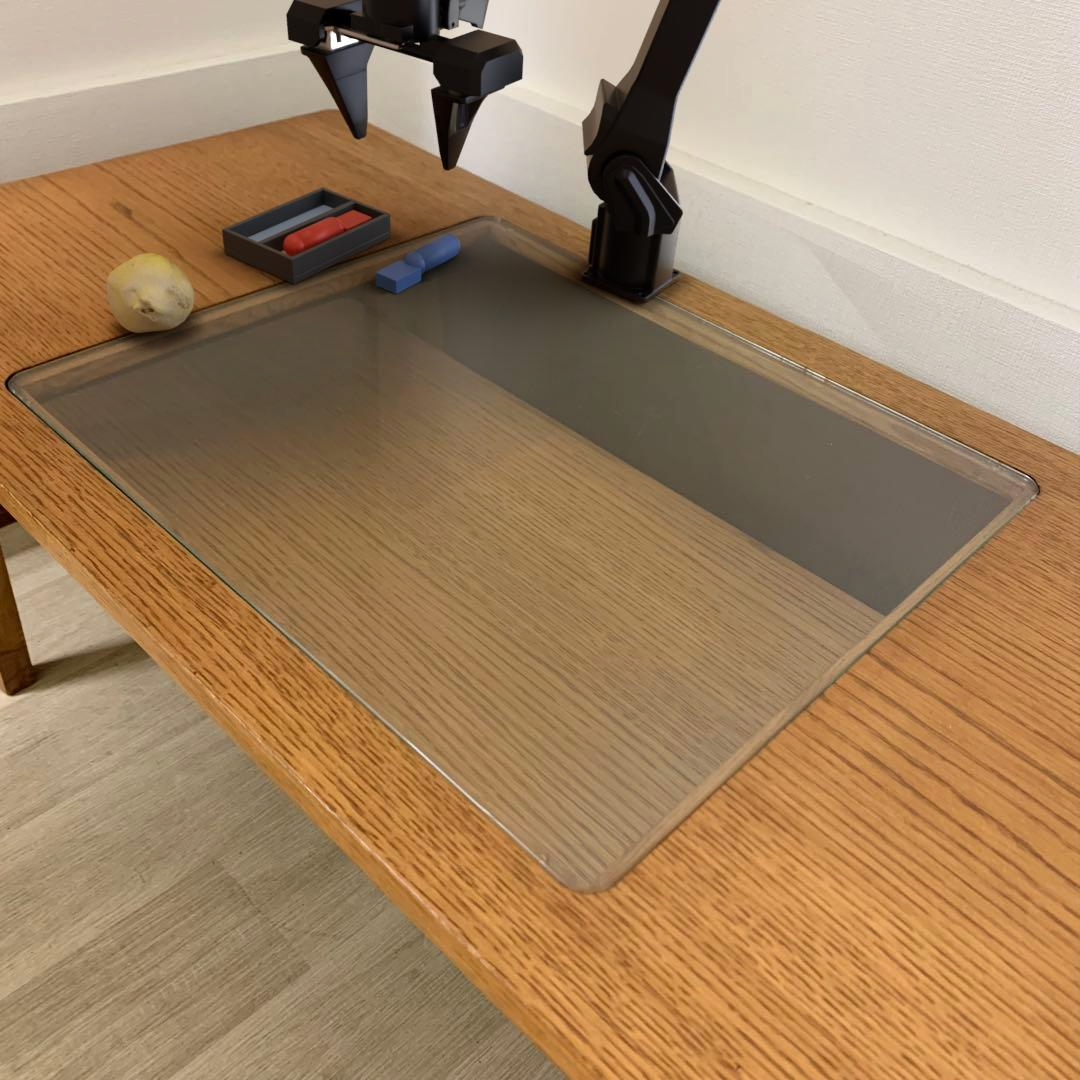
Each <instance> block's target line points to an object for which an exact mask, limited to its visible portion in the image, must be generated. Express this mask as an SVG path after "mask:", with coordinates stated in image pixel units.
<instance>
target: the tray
mask: <svg viewBox="0 0 1080 1080" xmlns="http://www.w3.org/2000/svg"><path fill="white" fill-rule="evenodd" d="M352 210H355V211H357V212H360V213H362V214H365V215H367V216H370V217H372V220H370V221H368V222H366V223H364V224H362V225H359V226H357V227H355V228H353V229H351V230H349V231H347V232H344V233H342V234H340V235H338V236H336V237H334V238H331V239H329V240H327V241H325V242H323V243H321V244H319V245H316V246H314V247H312V248H310V249H308V250H306V251H304V252H301V253H299V254H297V255H295V256H293V257H291V256H289V255H287V254H286V253H285V251H284V247H283V244H284V240H285V238H286V237H287V236H289V235H290V234H293V233H295V232H297V231H299V230H302V229H304V228H306V227H308V226H310V225H313V224H315V223H317V222H319V221H322V220H324V219H326V218H329V217H335V218H336V217H338V216H341V215H343V214H345V213H347V212H350V211H352ZM391 224H392V223H391V213H389V212H387V211H385V210H382V209H379V208H377V207H374V206H372V205H369V204H367V203H364V202H361V201H359V200H357V199H354V198H351V197H348V196H346V195H344V194H341V193H338V192H336V191H334V190H331V189H329V188H326V187H319V188H317V189H314V190H313V191H310V192H307V193H305V194H303V195H300V196H298V197H296V198H292V199H291V200H289V201H286V202H283V203H282V204H281V203H280V204H279V205H277V206H274V207H271V208H269V209H267V210H265V211H262V212H260V213H258V214H255V215H253V216H250V217H248V218H246V219H243V220H241V221H238V222H235V223H233V224H231V225H229V226H226V227H224V228H222V229H221V233H222V242H223V243H222V244H223V251H224V254H225V255H227V256H229V257H232V258H233V259H235V260H239V261H241V262H243V263H245V264H247V265H249V266H252V267H254V268H256V269H259V270H261V271H263V272H265V273H268V274H269V275H272V276H274V277H277V278H278V279H281V280H282V281H285V282H287V283H290V284H292V285H296V284H298V283H300V282H302V281H303V280H306V279H308V278H310V277H312V276H314V275H316V274H318V273H321V272H322V271H325V270H326V269H328V268H330V267H333V266H334V265H336V264H339V263H340V262H343V261H345V260H347V259H349V258H351V257H353V256H355V255H357V254H359V253H361V252H363V251H366V250H367V249H370V248H371V247H374V246H375V245H378V244H379V243H382V242H383V241H386V240H388V239H390V238H391V237H392V236H391V235H392V234H391V229H392V228H391V227H392V226H391Z"/></svg>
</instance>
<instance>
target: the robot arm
mask: <svg viewBox="0 0 1080 1080" xmlns="http://www.w3.org/2000/svg"><path fill="white" fill-rule="evenodd" d="M721 2H722V0H659V2H658V3H657V6H656V8H655V11H654V13H653V16H652V18H651V21H650V23H649V24H648V28H647V30H646V32H645V35H644V38H643V40H642V43H641V45H640V48H639V49H638V52H637V54H636V56H635V59H634V62H633V64H632V66H631V67H630V68H629V70H628V71H627V72H626V74H625V75H624V76H623V77H622V79H621V80H620V81H619V82H618V83H617V85H614V84H613V83H611V82H609V81H608V80H606V79H605V78H600V80H599V84H598V87H597V90H596V91H597V92H596V96H595V101H594V103H593V106H592V108H591V110H590V112H589V113H588V114H587V116H586V117H585V118H584V119H583V120H582V122H581V130H582V144H583V155H584V156H585V157H586V158H585V160H586V173H587V181H588V183H589V186H590V188H591V190H592V192H593V194H594V195H596V197H598V199H599V200H600V201H601V203H599V204H598V205H597V214H596V217H595V218H593V219H592V220H591V227H590V236H589V246H588V254H587V264H588V265H589V267H588V268H586V269H584V270H582V271H581V272H580V280H582V281H584V282H587V283H590V284H592V285H594V286H597V287H599V288H602V289H604V290H607V291H610V292H612V293H615V294H618V295H620V296H622V297H626V298H628V299H630V300H633V301H635V302H638V303H647V302H649V301H650V300H651V299H653V298H654V297H656V296H657V295H658V294H660V293H661V292H662V291H664V290H665V289H667V288H668V287H670V286H671V285H673V284H674V283H676V282H677V281H678V280H680V278H681V271H679V270H677V269H674V266H675V260H676V259H675V258H676V252H677V246H678V240H679V234H680V229H681V228H680V227H681V223H682V217H683V214H684V211H683V206H682V203H681V197H680V194H679V189H678V184H677V179H676V175H675V169H674V168H673V167H672V166H671V164H670V163H669V162H668V161H667V155H668V152H669V147H670V143H671V138H672V132H673V127H674V122H675V116H676V111H677V110H676V109H677V105H678V101H679V96H680V94H681V92H682V90H683V88H684V85H685V82H686V81H687V78H688V76H689V74H690V72H691V70H692V67H693V65H694V63H695V61H696V58H697V56H698V55H699V52H700V50H701V47H702V45H703V43H704V41H705V39H706V36H707V34H708V31H709V29H710V28H711V25H712V23H713V21H714V18H715V16H716V14H717V11H718V10H719V7H720V5H721ZM489 3H490V0H292V2H291V4H290V6H289V8H288V10H287V12H286V14H285V16H286V29H287V30H286V31H287V40H288V41H291V42H294V43H297V44H300V45H301V46H299V51H300V54H301V55H302V56H305V57H307V58H308V59H309V61H310V63H311V64H312V66H313V68H314V69H315V71H316V72H317V74H318V75H319V77H320V80H322V82H323V84H324V85H325V87H326V88H327V90H328V92H329V94H330V96H331V97H332V99H333V101H334V103H335V106H336V107H337V109H338V110H339V112H340V115H341V116H342V118H343V120H344V122H345V124H346V125H347V128H348V129H349V131H350V133H351V135H352V137H353V139H355V140H358V141H359V140H362V139H364V138H366V137H367V132H368V119H369V108H368V106H369V104H368V64H369V60H370V58H371V56H372V53H373V51H374V48H375V47H379V48H381V49H385V50H388V51H392V52H394V53H399V54H401V55H405V56H407V57H412V58H416V59H418V60H422V61H425V62H429V63H431V64H432V75H433V76H434V78H435V79H436V81H437V83H438V86H435V87H433V88H430V95H431V102H432V111H433V116H434V123H435V130H436V131H435V132H436V138H437V145H438V153H439V157H440V161H441V163H442V168H443V170H445V171H448V172H449V171H451V170H453V169H455V168H456V167H457V164H458V161H459V159H460V157H461V154H462V151H463V148H464V145H465V143H466V140H467V138H468V135H469V132H470V130H471V127H472V126H473V125H472V124H473V123H474V120H475V117H476V116H477V114H478V111H479V110H480V109H481V106H482V104H483V102H484V101H485V99H487V97H488V96H490V95H492V94H494V93H496V92H499V91H501V90H504V89H505V87H507V86H510V85H512V84H514V83H517V82H519V81H521V80H523V78H524V77H523V76H524V75H523V73H524V54H523V49H522V48H521V46H520V45H519V43H518V42H517V40H516V39H515V38H512V37H507V36H504V35H500V34H496V33H493V32H490V31H486V30H483V29H484V25H485V22H486V21H485V20H486V16H487V11H488V6H489ZM460 21H462V22H465V23H470V26H471V27H473V28H476V29H475V30H472V31H470V32H466V33H464V34H461V35H459V36H455V37H452V38H450V37H447V36H443V35H441V31H442V30H447V31H451V30H454V29H456V28H459V27H460Z"/></svg>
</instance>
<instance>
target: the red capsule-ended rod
mask: <svg viewBox="0 0 1080 1080" xmlns="http://www.w3.org/2000/svg"><path fill="white" fill-rule="evenodd" d="M370 220H372V217H370V216H367V215H365V214H362V213H360V212H357V211H355V210H352V211H350V212H347V213H345V214H343V215H341V216H338V217H336V218H335V217H329V218H326V219H324V220H322V221H319V222H317V223H315V224H313V225H310V226H308V227H306V228H304V229H302V230H299V231H297V232H295V233H293V234H290V235H289V236H287V237H286V238H285V240H284V244H283V247H284V251H285V253H286V254H287V255H289V256H291V257H293V256H295V255H297V254H299V253H301V252H304V251H306V250H308V249H310V248H312V247H314V246H316V245H319V244H321V243H323V242H325V241H327V240H329V239H331V238H334V237H336V236H338V235H340V234H342V233H344V232H347V231H349V230H351V229H353V228H355V227H357V226H359V225H362V224H364V223H366V222H368V221H370Z"/></svg>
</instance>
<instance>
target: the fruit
mask: <svg viewBox="0 0 1080 1080" xmlns="http://www.w3.org/2000/svg"><path fill="white" fill-rule="evenodd" d="M106 297H107V303H108V305H109V308H110V311H111V313H112V315H113V317H114V318H115V319H116V320H117V322H118V324H120V325H121V327H123V328H124V329H126V330H127V331H129V332H131V333H134V334H135V333H136V334H143V333H152V332H161V331H168V330H172V329H175V328H176V327H178V326H180V325H181V324H183V323H184V322H186V320H187V318H188V317H189V315H190V314H191V313H192V310H193V309H194V302H195V290H194V288H193V286H192V284H191V281H190V280H189V278H188V277H187V275H186V274H185V273H184V271H183V270H182V269H181V268H180V267H179V266H178V264H177V263H175V262H174V261H173V260H171V259H170V258H167V257H166V256H163V255H160V254H158V253H154V252H144V253H140V254H137V255H135V256H133V257H131V258H130V259H128V260H127V261H125V262H123V263H122V264H120V265H118V266H117V267H116V268H115V269H113V270H112V271H111V272H110V273H109V275H108V276H107V279H106Z"/></svg>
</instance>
